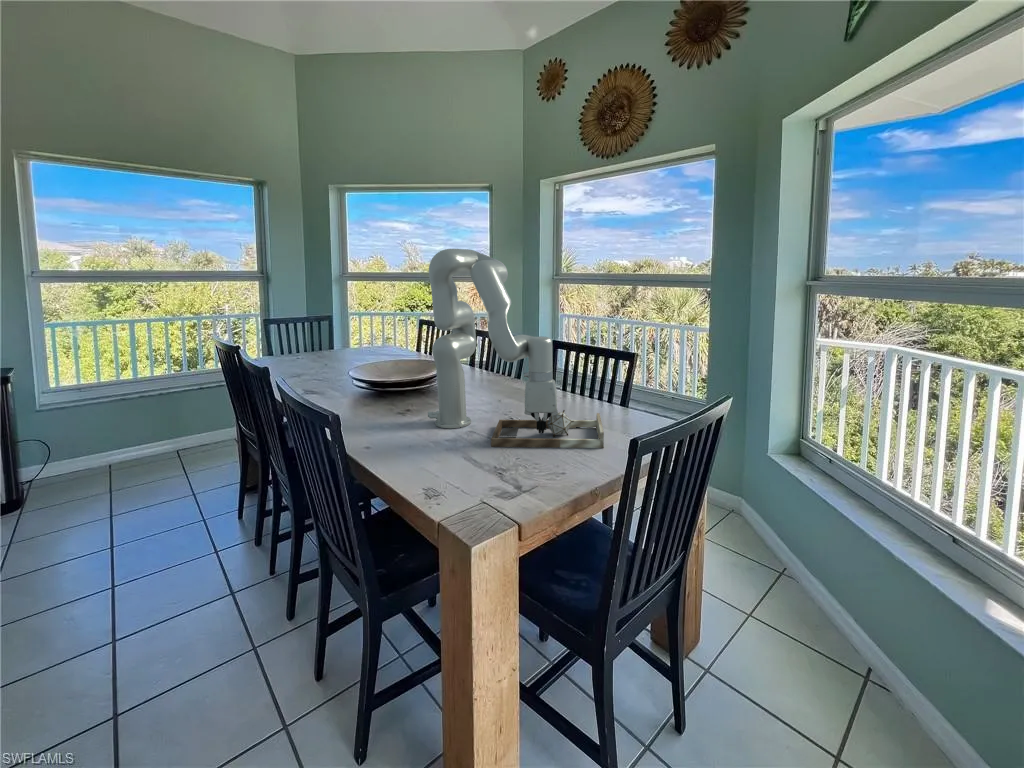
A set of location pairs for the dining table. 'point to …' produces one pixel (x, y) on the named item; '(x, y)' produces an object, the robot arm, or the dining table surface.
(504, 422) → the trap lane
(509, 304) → the robot arm
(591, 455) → the dining table surface
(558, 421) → the game die
